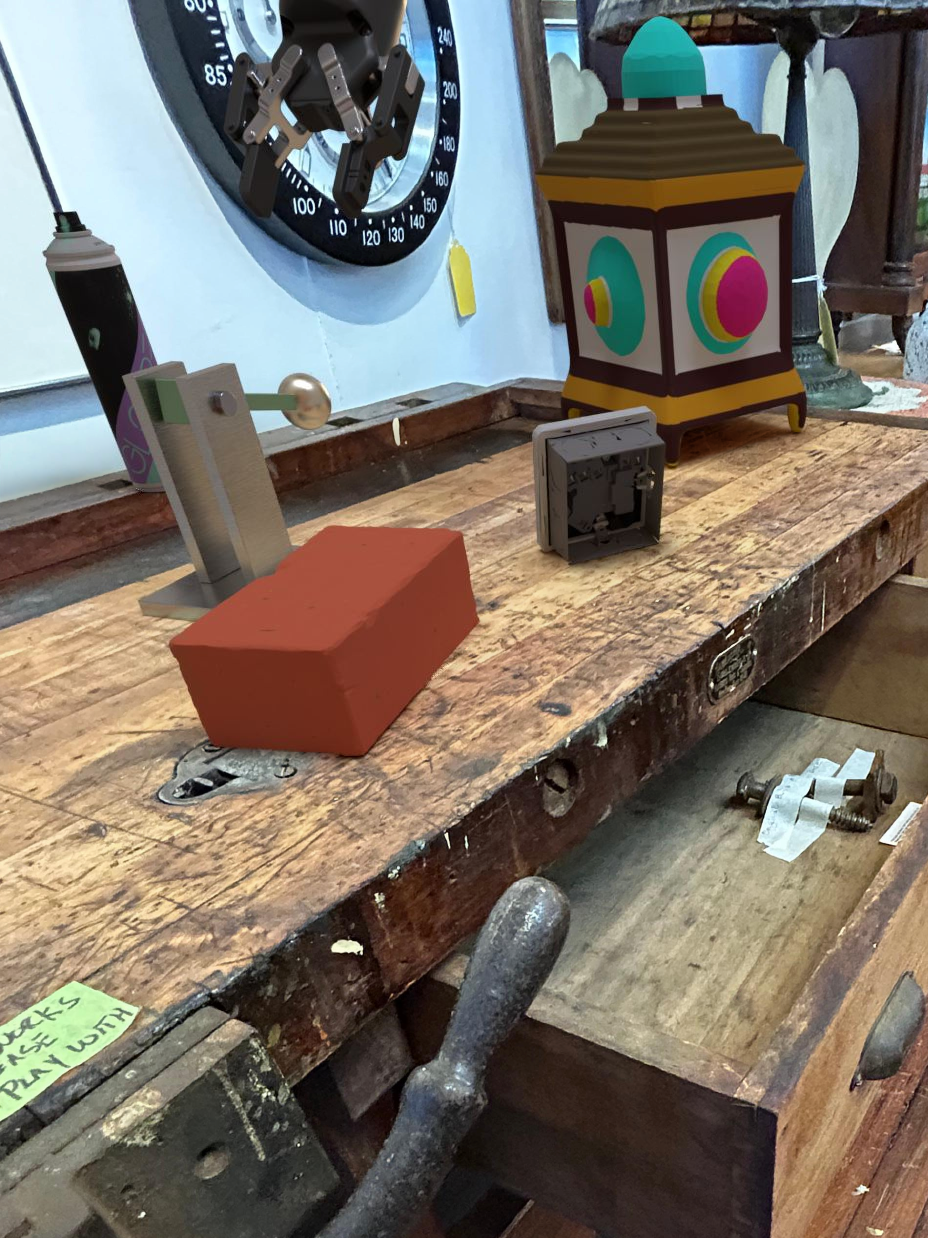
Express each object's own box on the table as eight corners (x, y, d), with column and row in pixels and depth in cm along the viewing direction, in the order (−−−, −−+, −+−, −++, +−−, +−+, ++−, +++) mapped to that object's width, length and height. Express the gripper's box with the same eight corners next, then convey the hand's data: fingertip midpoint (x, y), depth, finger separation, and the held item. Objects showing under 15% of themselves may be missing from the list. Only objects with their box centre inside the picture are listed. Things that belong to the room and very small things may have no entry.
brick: (363, 758, 54) (329, 649, 50) (208, 749, 55) (163, 642, 51) (482, 622, 67) (463, 527, 63) (355, 617, 69) (328, 524, 65)
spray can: (144, 496, 91) (34, 216, 78) (127, 483, 94) (18, 212, 81) (206, 483, 93) (110, 209, 80) (187, 470, 97) (91, 206, 83)
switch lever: (304, 428, 77) (295, 372, 75) (345, 430, 76) (337, 374, 74) (157, 433, 65) (142, 367, 63) (203, 436, 64) (190, 369, 62)
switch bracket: (257, 557, 78) (186, 347, 69) (357, 566, 76) (298, 351, 67) (144, 618, 70) (46, 388, 60) (254, 631, 67) (170, 394, 58)
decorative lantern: (544, 436, 102) (485, 24, 82) (696, 399, 111) (677, 22, 91) (669, 475, 90) (637, 7, 70) (827, 431, 100) (838, 7, 80)
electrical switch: (646, 527, 80) (640, 397, 74) (679, 552, 77) (675, 419, 71) (536, 553, 77) (519, 419, 70) (566, 580, 74) (551, 443, 67)
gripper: (224, -72, 69) (172, 165, 68) (409, -89, 65) (356, 161, 65) (297, 37, 76) (251, 251, 76) (468, 27, 72) (420, 252, 72)
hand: (299, 208), depth 70 cm, fingers open, 7 cm apart
